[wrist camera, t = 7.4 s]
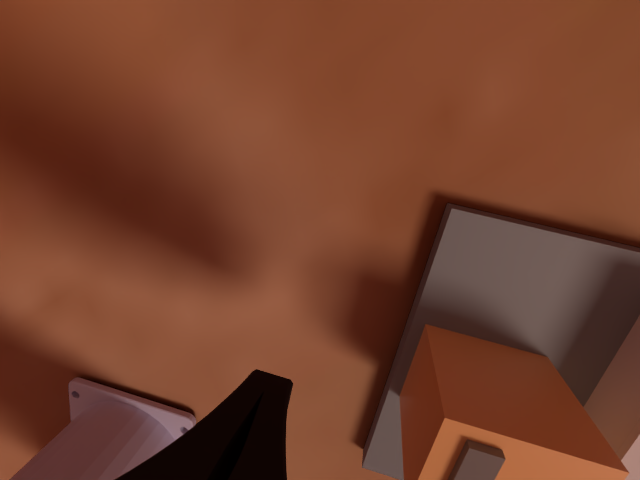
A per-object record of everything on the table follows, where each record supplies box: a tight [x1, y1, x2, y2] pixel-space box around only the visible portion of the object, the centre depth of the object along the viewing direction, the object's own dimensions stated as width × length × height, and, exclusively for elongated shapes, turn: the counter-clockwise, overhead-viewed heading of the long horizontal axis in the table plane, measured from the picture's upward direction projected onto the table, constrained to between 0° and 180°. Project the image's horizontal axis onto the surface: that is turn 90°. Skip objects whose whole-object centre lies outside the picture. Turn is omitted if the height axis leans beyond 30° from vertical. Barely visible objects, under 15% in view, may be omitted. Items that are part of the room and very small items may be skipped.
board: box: [362, 203, 640, 480], centre depth 14 cm, size 14×11×4 cm
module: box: [399, 324, 629, 480], centre depth 12 cm, size 4×5×5 cm
